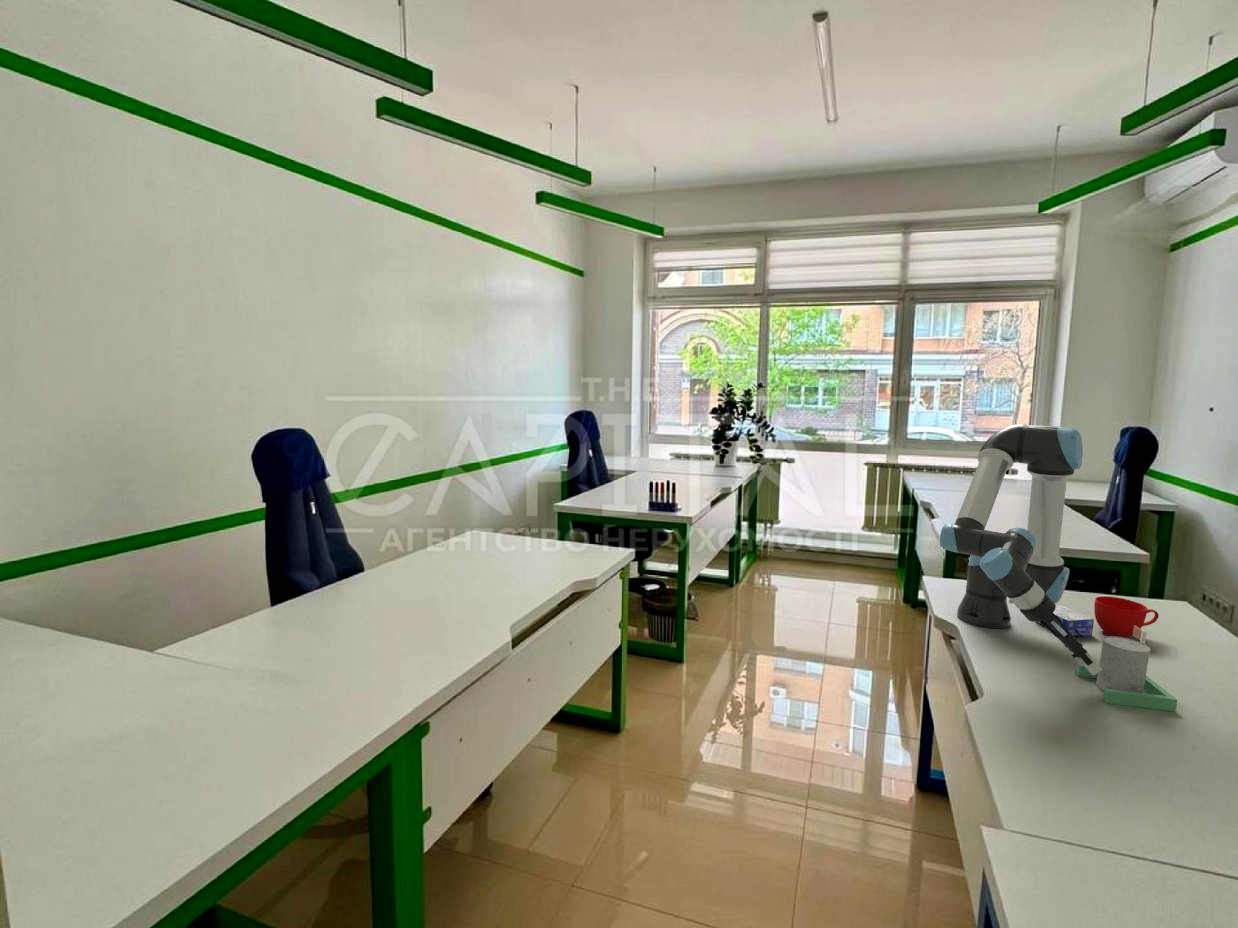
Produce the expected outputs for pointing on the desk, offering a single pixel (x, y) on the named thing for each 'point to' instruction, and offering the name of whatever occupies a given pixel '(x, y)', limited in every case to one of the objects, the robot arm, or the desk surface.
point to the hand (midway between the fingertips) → (1096, 671)
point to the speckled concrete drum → (1123, 664)
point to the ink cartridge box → (1074, 621)
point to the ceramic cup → (1120, 615)
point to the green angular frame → (1152, 699)
